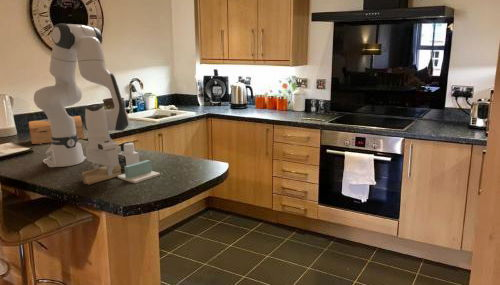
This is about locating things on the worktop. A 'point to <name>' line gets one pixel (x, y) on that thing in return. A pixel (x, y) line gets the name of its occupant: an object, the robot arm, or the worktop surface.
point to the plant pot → (110, 102)
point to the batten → (100, 174)
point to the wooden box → (42, 130)
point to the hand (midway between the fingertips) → (103, 173)
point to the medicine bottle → (127, 155)
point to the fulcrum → (138, 172)
